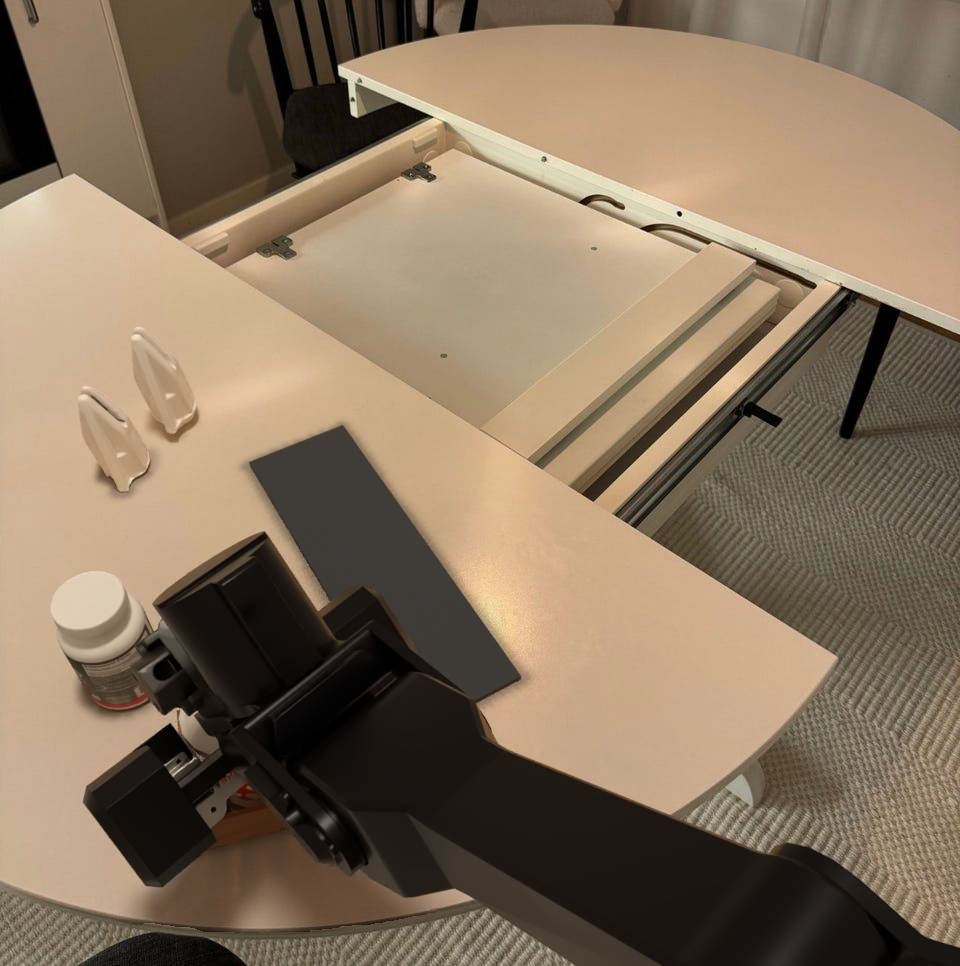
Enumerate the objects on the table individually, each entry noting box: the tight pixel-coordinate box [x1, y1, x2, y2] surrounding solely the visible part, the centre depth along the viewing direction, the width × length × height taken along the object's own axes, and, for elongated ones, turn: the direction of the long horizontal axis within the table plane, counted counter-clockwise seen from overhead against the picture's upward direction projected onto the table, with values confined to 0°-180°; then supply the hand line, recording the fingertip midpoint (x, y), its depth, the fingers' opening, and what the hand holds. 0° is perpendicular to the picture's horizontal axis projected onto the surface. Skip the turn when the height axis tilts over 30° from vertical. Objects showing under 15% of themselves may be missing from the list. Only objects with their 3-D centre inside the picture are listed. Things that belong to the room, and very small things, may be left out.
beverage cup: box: [179, 708, 264, 808], centre depth 59 cm, size 6×6×14 cm
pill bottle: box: [49, 570, 155, 710], centre depth 66 cm, size 6×6×10 cm
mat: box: [248, 424, 522, 704], centre depth 76 cm, size 30×9×1 cm, turn 31°
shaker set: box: [77, 326, 198, 493], centre depth 81 cm, size 12×4×11 cm, turn 152°
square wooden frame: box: [176, 709, 287, 850], centre depth 63 cm, size 8×8×4 cm
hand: (223, 709), depth 60 cm, fingers closed on beverage cup, 6 cm apart
